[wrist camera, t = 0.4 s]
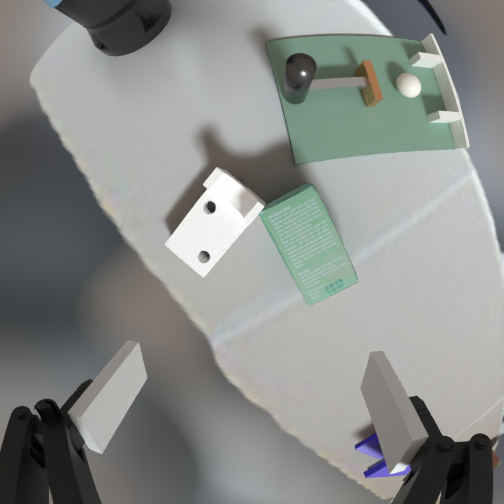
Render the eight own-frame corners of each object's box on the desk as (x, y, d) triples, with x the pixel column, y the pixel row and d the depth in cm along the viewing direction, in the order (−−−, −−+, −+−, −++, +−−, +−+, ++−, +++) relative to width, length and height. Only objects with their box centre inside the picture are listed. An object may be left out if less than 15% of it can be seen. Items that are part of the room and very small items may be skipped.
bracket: (227, 170, 37) (216, 167, 30) (266, 203, 38) (264, 206, 30) (173, 239, 40) (153, 251, 33) (209, 270, 41) (195, 288, 33)
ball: (388, 77, 31) (399, 68, 27) (409, 78, 30) (420, 70, 26) (396, 100, 31) (407, 93, 28) (416, 100, 31) (429, 94, 27)
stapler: (389, 421, 46) (401, 452, 37) (433, 445, 49) (443, 467, 39) (351, 447, 49) (358, 478, 39) (402, 466, 52) (410, 489, 42)
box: (305, 182, 37) (313, 181, 29) (346, 265, 39) (361, 282, 32) (259, 207, 38) (255, 212, 31) (303, 287, 40) (308, 309, 33)
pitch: (265, 44, 32) (264, 30, 28) (422, 43, 28) (432, 34, 24) (295, 164, 36) (298, 161, 32) (454, 149, 33) (469, 147, 28)
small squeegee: (278, 77, 32) (279, 44, 22) (362, 70, 31) (385, 41, 21) (288, 115, 33) (293, 90, 24) (373, 106, 32) (402, 85, 22)
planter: (477, 453, 51) (486, 470, 41) (496, 441, 50) (506, 457, 39) (464, 468, 54) (472, 484, 43) (484, 457, 53) (492, 472, 42)
